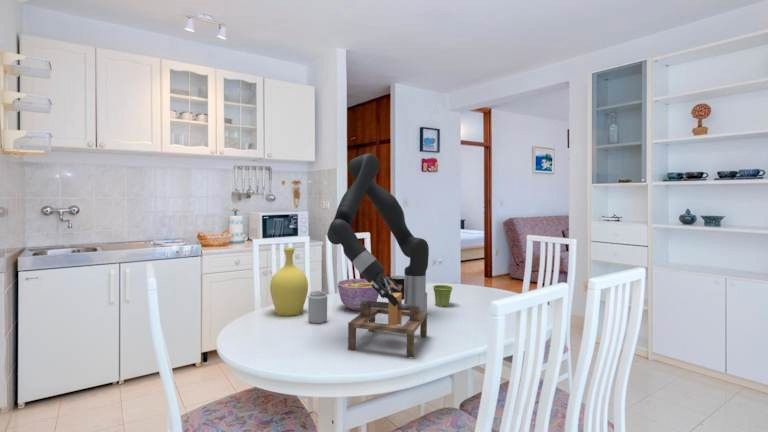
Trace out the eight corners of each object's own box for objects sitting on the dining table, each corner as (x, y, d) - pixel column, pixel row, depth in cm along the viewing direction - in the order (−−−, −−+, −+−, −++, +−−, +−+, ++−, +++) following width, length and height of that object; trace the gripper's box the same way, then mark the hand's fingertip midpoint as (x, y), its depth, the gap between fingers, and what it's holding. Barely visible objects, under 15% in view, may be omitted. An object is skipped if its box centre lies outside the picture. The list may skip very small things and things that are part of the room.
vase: (273, 319, 172) (273, 251, 171) (267, 309, 187) (267, 246, 185) (311, 315, 179) (312, 249, 177) (303, 306, 193) (303, 245, 192)
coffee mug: (408, 295, 216) (408, 276, 216) (403, 299, 208) (403, 279, 208) (386, 293, 220) (387, 274, 220) (381, 297, 212) (381, 277, 212)
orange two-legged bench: (388, 328, 144) (388, 296, 143) (393, 323, 150) (393, 292, 149) (396, 329, 143) (396, 297, 142) (401, 323, 149) (401, 293, 148)
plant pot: (455, 304, 199) (455, 286, 199) (447, 309, 192) (447, 290, 191) (437, 301, 204) (437, 284, 204) (428, 305, 197) (429, 287, 196)
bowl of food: (384, 303, 199) (384, 279, 199) (376, 315, 180) (376, 288, 179) (343, 301, 203) (343, 277, 202) (331, 312, 183) (331, 286, 182)
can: (323, 324, 166) (323, 294, 165) (305, 323, 168) (305, 293, 167) (329, 319, 173) (329, 290, 173) (312, 318, 175) (312, 289, 174)
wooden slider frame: (348, 349, 140) (348, 307, 139) (370, 329, 161) (370, 293, 160) (412, 357, 133) (413, 314, 133) (426, 336, 154) (427, 298, 154)
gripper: (368, 262, 141) (402, 300, 138) (381, 256, 154) (412, 290, 151) (353, 276, 142) (386, 314, 139) (367, 269, 156) (398, 303, 153)
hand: (399, 301), depth 145 cm, fingers open, 6 cm apart
